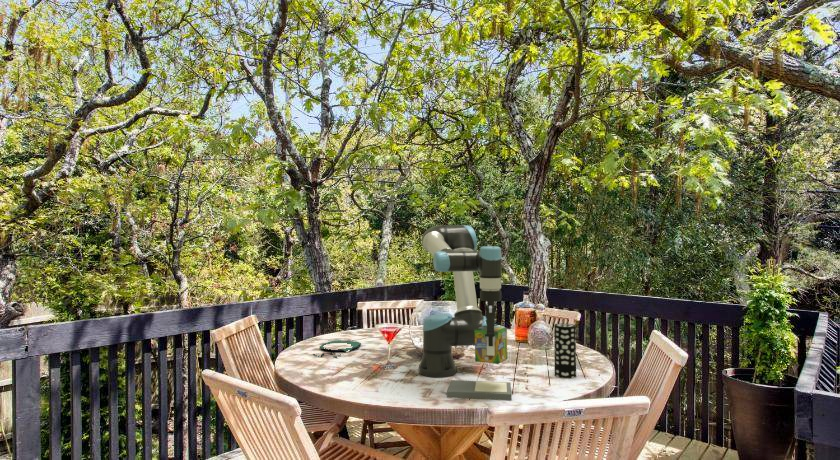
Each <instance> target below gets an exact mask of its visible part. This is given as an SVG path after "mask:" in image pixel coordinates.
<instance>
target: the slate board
mask: <svg viewBox="0 0 840 460" xmlns="http://www.w3.org/2000/svg"><path fill="white" fill-rule="evenodd" d="M511 385H512V384H511V382H510V381H508V382H507V381H484V380H483V381H482V380H481V381H479V380H462V379H461V380H460V379H459V380H458V379H450V381H449V384H448V387H447V390H446V398H452V397H458V398H457V399H475V400H498V401H512V397H513V396H512V386H511Z"/></svg>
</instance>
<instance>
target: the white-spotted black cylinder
mask: <svg viewBox="0 0 840 460" xmlns="http://www.w3.org/2000/svg"><path fill="white" fill-rule="evenodd" d="M553 330H554V332H553V333H554V340H553V341H554V346H553V347H554V349H553V350H554V376H555V377H557V378H560V379H574V377H575V378H576V377H577V325H575V324H573V323H565V322H564V323H555V324H554V326H553Z"/></svg>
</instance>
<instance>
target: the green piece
mask: <svg viewBox="0 0 840 460" xmlns="http://www.w3.org/2000/svg"><path fill="white" fill-rule="evenodd" d="M330 343H347V344H351V346H353V347H352V348H346V349H338V350H331V349H329V350H331V351H330V352H345V351H348V350H351V351H352V350H355V349H358V348H360V347H361V346H362V343H361V342H360V341H356V340H354V341H353V340H331V341H328V342H325V343H322V344H321V345H320V346H319V349H320V348H321V349H324V347H323V346H324V345H326V344H330ZM321 349H320V350H321ZM327 350H328V349H326V348H325V350H324V351H327ZM339 354H340V355H341V354H342V353H339Z"/></svg>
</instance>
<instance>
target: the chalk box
mask: <svg viewBox="0 0 840 460" xmlns="http://www.w3.org/2000/svg"><path fill="white" fill-rule="evenodd" d="M486 324H487V319H486ZM474 331H475V346H474V358H475V359H474V361H475V363H487V364H494V365H499V364H501V363H503V362H505V361H506V360H508V328H507V327H503V326H496V325H495V326H494V333H495V356H491V355H487V337H485V334H487V326H482V327H479V328H476V329H475V330H474Z"/></svg>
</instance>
